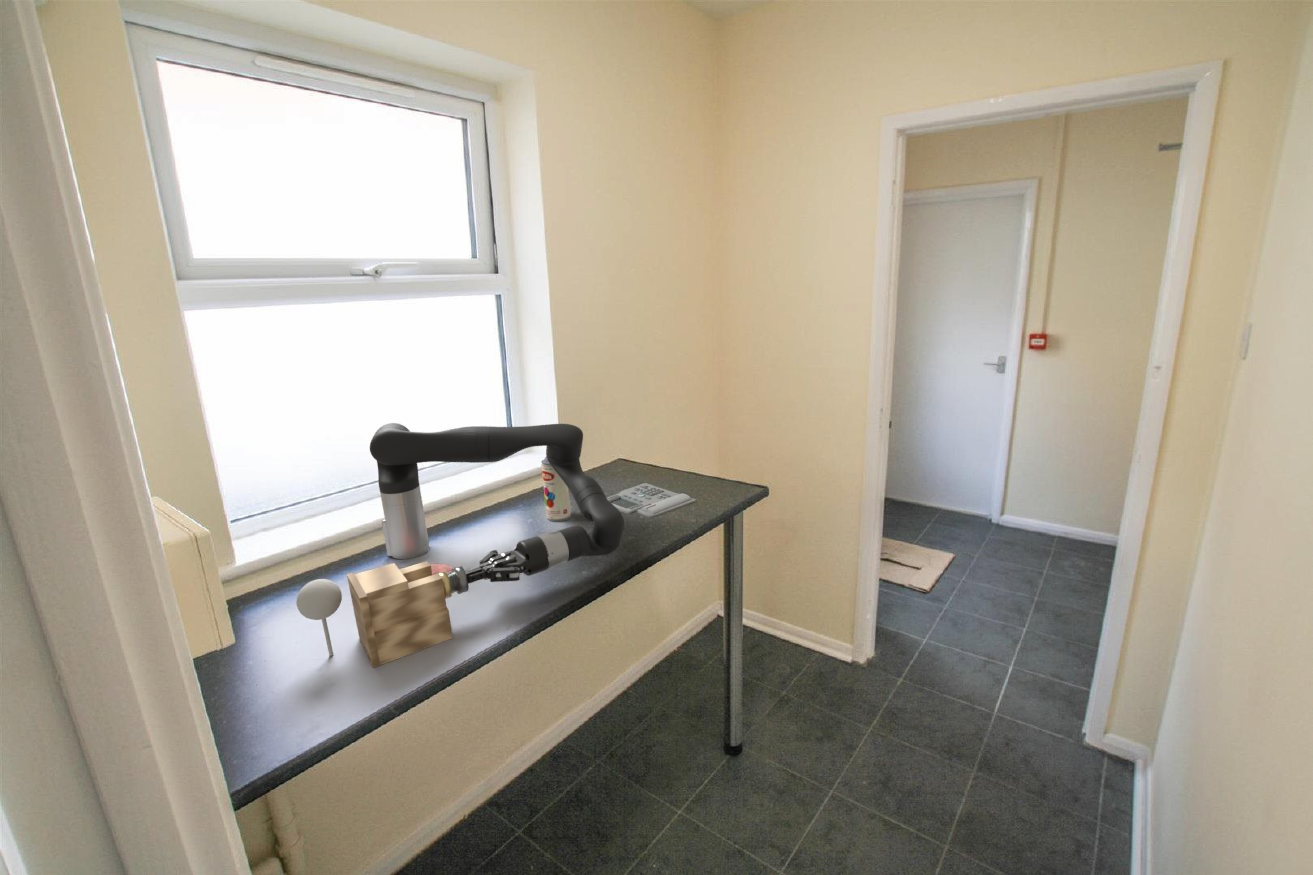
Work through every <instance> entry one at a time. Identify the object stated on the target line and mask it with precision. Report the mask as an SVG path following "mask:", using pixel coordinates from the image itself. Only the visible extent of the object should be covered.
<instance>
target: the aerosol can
mask: <svg viewBox="0 0 1313 875" xmlns="http://www.w3.org/2000/svg"><path fill="white" fill-rule="evenodd" d="M540 466H541V476H542V484H543V492H544V493H543V495H544V504H545V512H546V519H547V521H549V522H552V523H554V522H556V523H559V522H564V521H567V520H569V519H570V518H571V517H572V511H571V502H570V500H571V499H570V492H569V491H570V490H569V488H568V487H567V485H566V484H565V483H564V481H563V480H562V479H561V477H560V476H559V475H558V474H557V472H556V471H555V470H554V469H553V467H552V466H551V465H550V463H549V461H548V460H547V457H546V456H545V457H544V459H543V460H541V465H540Z"/></svg>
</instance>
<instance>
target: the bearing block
mask: <svg viewBox="0 0 1313 875" xmlns="http://www.w3.org/2000/svg"><path fill="white" fill-rule="evenodd" d="M430 564H431V563H429V562H428V560H426V561H423V562H419V563H417V564H413V565H410V566H409V565H408V566H405V567H402V568H399V567H398V566H397V565H396V563H394V562H393V563H389V564H386V565H382V566H378V567H375V568H373V569H369V570H365V571H362V572H359V573H355V572H354V571H353V572H350V573H347V574H346V578H347V582H348V588H349V592H350V593H349V594H350V597H351V598H350V599H351V603H352V604H351V605H352V607H353V614H354V617H355V623H356V629H357V634H358V638H359V641H360V643H361V645H362V647H363V650H364V649H365V650H364V652H365V654H366V656H367V658H368V660H369V662H370V664H371V666H373V667H372V668H376V666H377V667H379V666H382V665H385V664H387V663H389V662H392V661H395V660H398V659H401V658H403V657H406V656H408V655H411V654H414V653H417V652H419V651H421V650H424V649H428V648H429V647H433V646H435V645H438V644H441V643H444V642H446V641H449V640H451V639H453V638H454V636H453V629H452V623H451V622H452V621H451V616H450V610H449V607H448V606H447V601H446V599H447V598H446V599H445V593H444V587H443V580H442V577H441V576H440V575H439V574H435V575H432V570H431V565H430Z"/></svg>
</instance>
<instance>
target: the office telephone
mask: <svg viewBox="0 0 1313 875" xmlns="http://www.w3.org/2000/svg"><path fill="white" fill-rule="evenodd" d="M606 498H607V500H608V501H609V502H611V503H612V502H614V501H616V500H620V499H621V500H625V501H628V502H630V503H634V504H636V505H632V506H630V507H627V508H626V507H624V506H621V505H618V504H615V503H612V504H613V505H614V506H615V507H616V508H617V509H618V510H619V511H620V512H621V513H625V514H629V515H630V514H632V513H634V512H636V511H637V514H640V515H642V516H645V517H647V518H654V517H657V516H660V515H663V514H665V513H668V512H670V511H671V512H672V511H674V510H676V509H679V508H682V507H684V506H687V505H690V504H693V503H696V502H697V500H696V498H692V497H690V496H689V495H688V494H686V493H677V492H674V491H671V490H668V489H665V488H662V487H659V486H655V485H654V484H650V483H647V482H645V483H644V482H643V483H641V484H637V485H635V486H632V487H630V488H629V487H628V488H626V489H623V490H621V491H619V493H616V494H613V495H610V496H608V497H606ZM619 498H620V499H619Z"/></svg>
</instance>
